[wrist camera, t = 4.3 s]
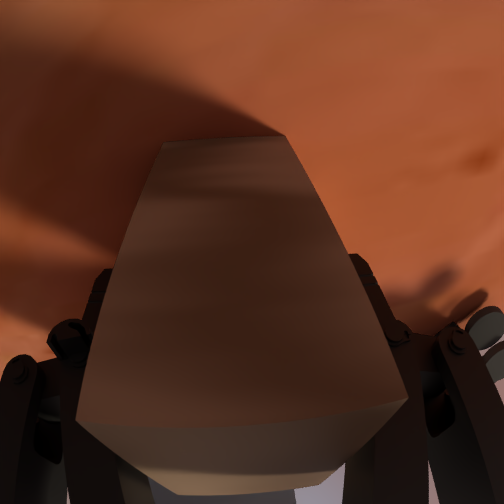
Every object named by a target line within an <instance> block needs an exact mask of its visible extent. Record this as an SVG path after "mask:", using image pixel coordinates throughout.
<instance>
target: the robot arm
mask: <svg viewBox="0 0 504 504" xmlns="http://www.w3.org/2000/svg"><path fill="white" fill-rule="evenodd" d="M348 255H349V257H350V259H351V261H352V263H353V265H354V268H355V270H356V272H357V274H358V276H359V278H360V280H361V283H362V285H363V287H364V289H365V291H366V294H367V296H368V298H369V300H370V303H371V305H372V307H373V310H374V312H375V314H376V316H377V319H378V321H379V323H380V326H381V328H382V331H383V333H384V335H385V338H386V340H387V343H388V345H389V348H390V350H391V353H392V355H393V358H394V360H395V363H396V365H397V368H398V370H399V373H400V376H401V378H402V381H403V384H404V386H405V389H406V392H407V394H408V397H409V398H408V399H407V400H406V401H405V403H404V404H403V405H402V406H401V407H400V408H399V409H398V410H397V412H396V413H395V414H394V415H393V416H392V417H391V418H390V419H389V420H388V421H387V422H386V423H385V424H384V425H383V427H382V428H381V429H380V430H379V431H378V432H377V433H376V434H375V435H374V436H373V437H372V438H371V439H370V440H369V441H368V442H367V443H366V444H365V445H364V446H362V447H361V448H360V449H359V450H358V451H357V452H356V453H355V454H354V455H353V456H352V457H351V458H350V459H349V460H347V461H346V462H345V476H344V488H343V500H342V504H429V477H428V476H429V475H428V473H429V472H428V461H429V464H430V468H431V472H432V475H433V479H434V483H435V487H436V491H437V495H438V499H439V503H440V504H504V405H503V402H502V400H501V397H500V395H499V393H498V390H497V388H496V386H495V384H494V382H493V379H492V377H491V375H490V373H489V371H488V369H487V367H486V364H485V362H484V360H483V358H482V356H481V354H480V352H479V350H478V348H477V346H476V344H475V342H474V341H473V339H472V338H471V336H470V335H469V334H468V333H467V332H466V331H464V330H463V329H461V328H458V327H447V328H445V329H443V330H442V332H441V333H440V334H439V336H438V337H436V336H428V335H420V334H415V333H412V331H411V330H410V329H409V327H408V326H407V325H406V324H404V323H402V322H401V321H399V320H396V319H395V317H394V315H393V313H392V311H391V309H390V307H389V305H388V303H387V301H386V299H385V297H384V295H383V292H382V290H381V288H380V286H379V285H378V282H377V280H376V278H375V276H373V272H372V270H371V269H370V267H369V265H368V263H367V262H366V261H365V260H364V259H363V258H362V257H361V256H359V255H358V254H348ZM112 271H113V269H104V270H103V271H102V273H101V274H100V275H99V276H98V277H97V278H96V280H95V282H94V285H93V288H92V291H91V292H92V294H90V297H89V300H88V303H87V306H86V309H85V312H84V315H83V318H82V320H80V319H67V320H65V321H62V322H60V323H59V324H57V325H56V326H55V327H54V328H53V329H52V330H51V332H50V333H49V335H48V338H47V342H46V343H47V344H48V345H49V347H50V348H51V350H52V351H53V352H54V354H55V355H56V356H57V358H54V359H50V360H46V361H42V362H38V363H37V362H36V361H35V360H34V359H33V358H32V357H31V356H29V355H26V354H23V355H18V356H16V357H14V358H12V359H11V360H10V361H9V362H8V363H7V365H6V367H5V369H4V371H3V374H2V377H1V381H0V504H67V487H68V492H69V499H70V504H155V502H154V498H153V495H152V491H151V487H150V484H149V480H148V476H147V475H145V474H144V473H142V472H141V471H139V470H138V469H136V468H135V467H134V466H132V465H131V464H129V463H128V462H127V461H125V460H124V459H122V458H121V457H120V456H118V455H117V454H116V453H114V452H113V451H112V450H111V449H109V448H108V447H107V446H105V445H104V444H103V443H102V442H100V441H99V440H98V439H97V438H95V437H94V436H93V435H92V434H91V433H89V432H88V431H87V430H86V429H85V428H84V427H82V426H81V425H80V424H79V423H78V422H77V421H76V414H77V408H78V403H79V398H80V392H81V388H82V383H83V378H84V373H85V369H86V365H87V360H88V356H89V352H90V348H91V344H92V340H93V336H94V332H95V328H96V325H97V321H98V317H99V314H100V310H101V307H102V303H103V300H104V297H105V293H106V290H107V287H108V284H109V281H110V277H111V274H112Z"/></svg>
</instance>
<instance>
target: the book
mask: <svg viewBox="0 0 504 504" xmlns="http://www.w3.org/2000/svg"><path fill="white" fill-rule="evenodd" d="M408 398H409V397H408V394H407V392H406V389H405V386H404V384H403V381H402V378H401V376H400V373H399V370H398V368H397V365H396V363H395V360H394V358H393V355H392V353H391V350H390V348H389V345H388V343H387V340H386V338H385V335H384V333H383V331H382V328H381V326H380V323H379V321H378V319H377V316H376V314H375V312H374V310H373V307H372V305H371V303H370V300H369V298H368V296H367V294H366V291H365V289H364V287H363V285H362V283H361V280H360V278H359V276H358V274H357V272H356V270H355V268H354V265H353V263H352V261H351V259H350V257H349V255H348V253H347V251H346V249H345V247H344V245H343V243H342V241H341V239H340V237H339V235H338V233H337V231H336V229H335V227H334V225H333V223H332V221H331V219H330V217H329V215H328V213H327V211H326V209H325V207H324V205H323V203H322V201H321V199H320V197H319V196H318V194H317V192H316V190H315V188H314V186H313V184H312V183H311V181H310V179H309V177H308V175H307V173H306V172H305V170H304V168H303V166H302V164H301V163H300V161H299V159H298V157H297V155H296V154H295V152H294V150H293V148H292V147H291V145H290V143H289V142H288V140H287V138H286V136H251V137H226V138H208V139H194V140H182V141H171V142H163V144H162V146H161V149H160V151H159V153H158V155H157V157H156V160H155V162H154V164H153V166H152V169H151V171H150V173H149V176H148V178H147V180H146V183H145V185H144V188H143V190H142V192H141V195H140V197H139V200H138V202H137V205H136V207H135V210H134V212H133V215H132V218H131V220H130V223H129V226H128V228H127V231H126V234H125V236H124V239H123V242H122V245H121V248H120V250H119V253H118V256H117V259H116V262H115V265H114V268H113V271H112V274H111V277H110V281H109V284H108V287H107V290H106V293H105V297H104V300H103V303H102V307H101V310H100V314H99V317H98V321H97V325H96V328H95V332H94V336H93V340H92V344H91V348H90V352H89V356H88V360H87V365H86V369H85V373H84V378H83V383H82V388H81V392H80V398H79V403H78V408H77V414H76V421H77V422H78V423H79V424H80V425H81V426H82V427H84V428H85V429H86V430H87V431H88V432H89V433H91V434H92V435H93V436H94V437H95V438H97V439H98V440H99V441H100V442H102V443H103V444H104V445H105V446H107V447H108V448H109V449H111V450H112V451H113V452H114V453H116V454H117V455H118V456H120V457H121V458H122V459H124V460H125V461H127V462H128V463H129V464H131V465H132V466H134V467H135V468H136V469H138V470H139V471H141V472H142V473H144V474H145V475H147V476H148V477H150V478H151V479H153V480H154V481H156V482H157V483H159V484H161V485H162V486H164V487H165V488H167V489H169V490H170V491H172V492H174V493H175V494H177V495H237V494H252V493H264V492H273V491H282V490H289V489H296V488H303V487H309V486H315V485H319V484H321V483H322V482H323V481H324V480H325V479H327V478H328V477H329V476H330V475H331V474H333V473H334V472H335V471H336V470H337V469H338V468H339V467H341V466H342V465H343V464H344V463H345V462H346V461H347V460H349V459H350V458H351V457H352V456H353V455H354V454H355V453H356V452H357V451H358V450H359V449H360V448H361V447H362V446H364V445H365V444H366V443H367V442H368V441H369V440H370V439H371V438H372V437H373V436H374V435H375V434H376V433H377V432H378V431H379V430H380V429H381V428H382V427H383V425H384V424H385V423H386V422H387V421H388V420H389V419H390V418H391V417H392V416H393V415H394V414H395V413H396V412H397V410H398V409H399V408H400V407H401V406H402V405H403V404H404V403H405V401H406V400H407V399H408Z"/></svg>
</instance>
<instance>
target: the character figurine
mask: <svg viewBox="0 0 504 504" xmlns="http://www.w3.org/2000/svg"><path fill="white" fill-rule="evenodd" d="M447 327H458V328H460V327H459V326H458V325H456V324H455V323H454V322H452V323H451V324H449V325H448V326H447ZM447 327H445V328H447ZM445 328H444V329H445ZM464 331H466V332H467V333H468V334H469V335H470V336H471V338H472V339H473V341H474V342H475V344H476V346H477V348H478V350H484V349H487V348H489V347H491V346H492V345H494V344H495V343H496V342H497V341H498V340H499V339H500V338H501V337H502V335H503V334H504V314H503V312H502V311H501V310H500V309H499V308H498V307H496V306H488V307H485V308H483V309H481V310H479V311H478V312H476V313H475V314H474V315H473V316H472V317H471V318H470V319H469V321H468V322H467V324H466V327H465V330H464ZM441 332H442V330H441V331H440V332H439V333H437V334H436V335H435V336H436V337H438V336H439V334H440V333H441ZM482 358H483V360H484V362H485V364H486V367H487V369H488V371H489V373H490V375H491V377H492V379H493V382H494V383H495V382H496V381H498V380H501V379H503V378H504V341H502V342H499V343H497V344H495V345H494V346H493V347H491V348H490V349H489V350H488V351H487V352H486V353H485V355H484V356H482Z"/></svg>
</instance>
